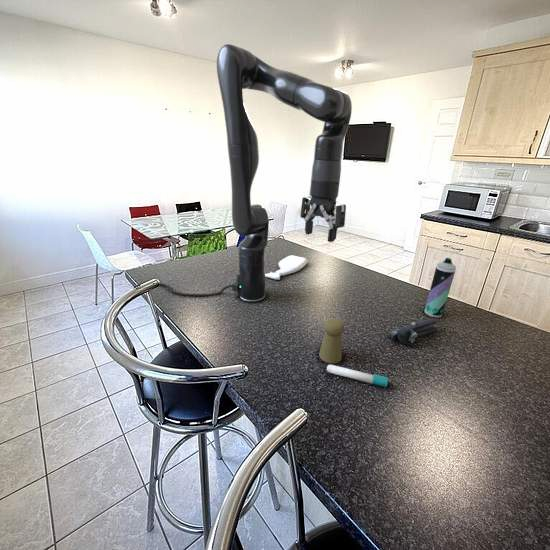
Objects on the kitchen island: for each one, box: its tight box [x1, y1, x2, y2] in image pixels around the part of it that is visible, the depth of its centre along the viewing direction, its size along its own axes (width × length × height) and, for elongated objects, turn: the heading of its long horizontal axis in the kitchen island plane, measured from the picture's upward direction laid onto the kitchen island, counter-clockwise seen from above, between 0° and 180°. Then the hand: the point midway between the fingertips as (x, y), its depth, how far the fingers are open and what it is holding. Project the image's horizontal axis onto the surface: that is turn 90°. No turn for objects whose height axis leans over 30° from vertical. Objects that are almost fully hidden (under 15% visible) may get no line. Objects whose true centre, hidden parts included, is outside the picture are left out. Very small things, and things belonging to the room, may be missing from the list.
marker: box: [326, 364, 389, 388], centre depth 70 cm, size 14×2×2 cm, turn 70°
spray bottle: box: [265, 254, 308, 281], centre depth 130 cm, size 3×11×24 cm
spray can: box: [424, 257, 457, 318], centre depth 95 cm, size 6×6×20 cm
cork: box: [318, 317, 345, 365], centre depth 76 cm, size 6×6×11 cm
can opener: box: [387, 318, 438, 346], centre depth 86 cm, size 18×7×6 cm, turn 117°
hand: (319, 237), depth 83 cm, fingers open, 8 cm apart
